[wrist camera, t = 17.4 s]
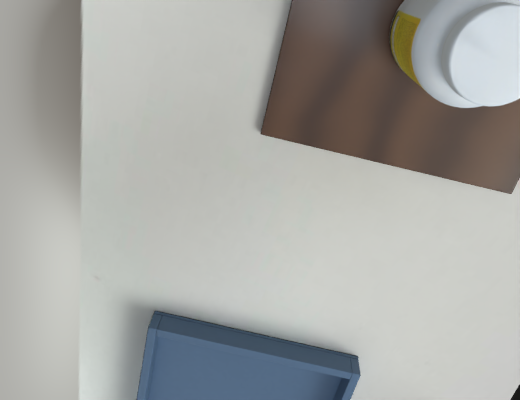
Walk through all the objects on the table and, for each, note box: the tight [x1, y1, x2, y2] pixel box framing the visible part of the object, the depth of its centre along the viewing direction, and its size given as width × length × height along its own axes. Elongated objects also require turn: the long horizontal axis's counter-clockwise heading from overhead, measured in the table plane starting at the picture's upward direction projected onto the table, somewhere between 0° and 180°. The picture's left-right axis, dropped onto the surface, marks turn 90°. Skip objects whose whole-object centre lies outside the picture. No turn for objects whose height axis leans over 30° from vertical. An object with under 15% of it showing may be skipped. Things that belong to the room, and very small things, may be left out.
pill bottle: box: [389, 0, 520, 108], centre depth 28 cm, size 6×6×12 cm
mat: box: [261, 0, 520, 194], centre depth 34 cm, size 20×20×1 cm
